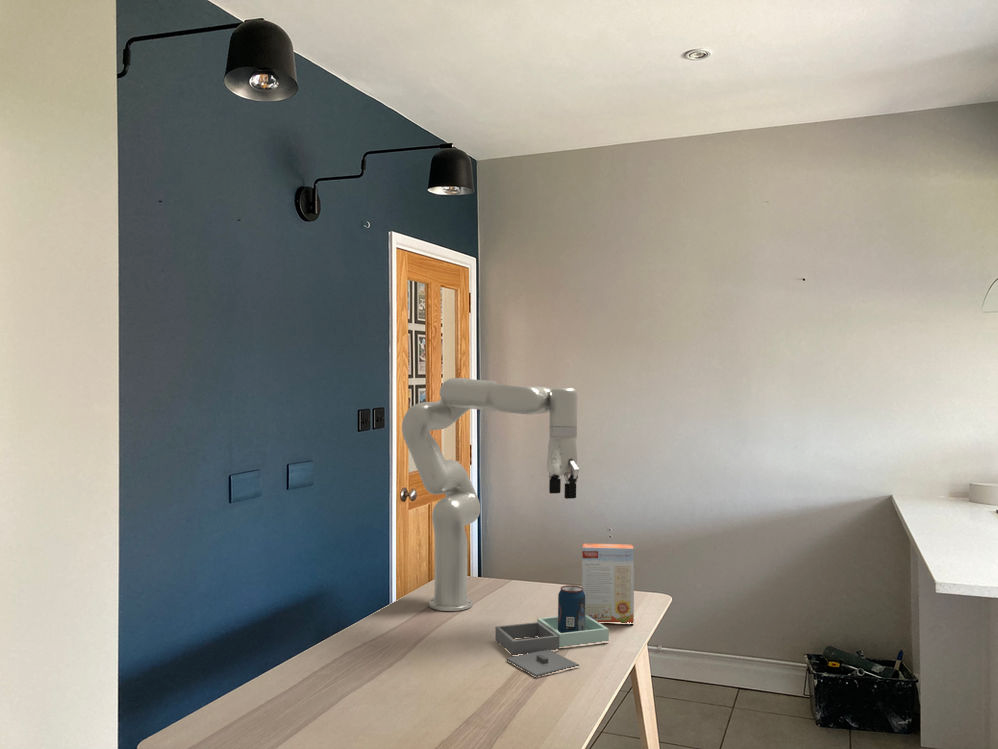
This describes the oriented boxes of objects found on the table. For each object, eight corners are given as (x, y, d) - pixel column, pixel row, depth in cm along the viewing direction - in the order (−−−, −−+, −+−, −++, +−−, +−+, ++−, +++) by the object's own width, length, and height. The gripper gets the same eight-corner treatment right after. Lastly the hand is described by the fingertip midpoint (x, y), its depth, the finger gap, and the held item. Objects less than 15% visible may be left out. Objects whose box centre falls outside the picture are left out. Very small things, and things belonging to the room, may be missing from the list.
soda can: (559, 629, 206) (559, 583, 206) (586, 631, 205) (586, 585, 205) (556, 638, 199) (556, 590, 199) (583, 640, 198) (584, 592, 198)
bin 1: (495, 640, 199) (495, 626, 199) (539, 635, 203) (539, 621, 203) (513, 656, 188) (513, 641, 188) (558, 651, 192) (559, 636, 192)
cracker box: (632, 619, 218) (633, 543, 218) (633, 626, 212) (634, 548, 212) (581, 617, 219) (582, 541, 219) (581, 624, 213) (582, 546, 213)
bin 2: (537, 632, 206) (537, 618, 206) (583, 627, 211) (584, 613, 211) (559, 649, 193) (559, 634, 193) (608, 643, 198) (608, 628, 198)
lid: (506, 661, 184) (506, 653, 184) (547, 652, 191) (547, 644, 191) (536, 678, 174) (536, 670, 174) (578, 668, 181) (579, 660, 181)
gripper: (537, 431, 222) (537, 491, 222) (564, 435, 206) (563, 501, 206) (561, 430, 225) (561, 490, 225) (590, 435, 209) (589, 499, 209)
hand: (562, 495), depth 215 cm, fingers open, 9 cm apart
